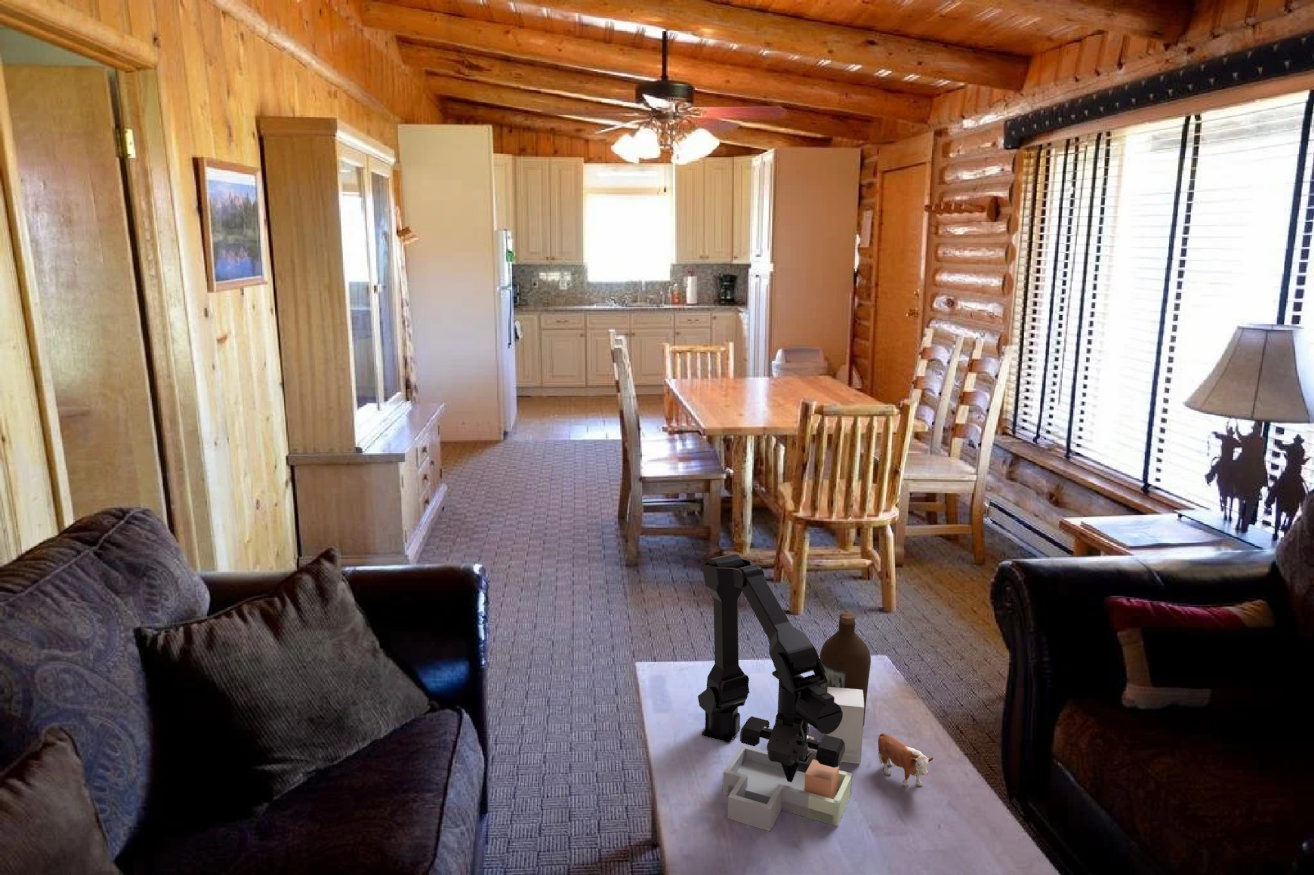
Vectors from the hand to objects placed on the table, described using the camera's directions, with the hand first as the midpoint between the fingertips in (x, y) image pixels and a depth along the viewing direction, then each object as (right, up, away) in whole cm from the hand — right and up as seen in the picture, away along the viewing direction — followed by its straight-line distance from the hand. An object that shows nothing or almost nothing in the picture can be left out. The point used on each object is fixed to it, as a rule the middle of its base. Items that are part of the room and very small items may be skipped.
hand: (790, 781), depth 164 cm
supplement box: (+13, 0, +14) cm, 19 cm away
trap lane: (0, -3, +1) cm, 3 cm away
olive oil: (+15, +3, +25) cm, 29 cm away
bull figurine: (+23, -2, +5) cm, 23 cm away
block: (+5, -1, -2) cm, 6 cm away
